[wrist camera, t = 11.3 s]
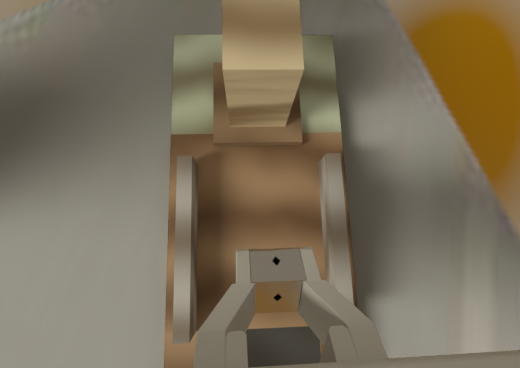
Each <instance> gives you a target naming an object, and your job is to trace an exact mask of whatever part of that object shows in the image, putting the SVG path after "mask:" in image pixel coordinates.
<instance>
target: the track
mask: <svg viewBox="0 0 520 368" xmlns="http://www.w3.org/2000/svg"><path fill="white" fill-rule="evenodd" d="M302 46H303V61H304V71H303V74H302V77H301V80H300V83H299V94H300V110H301V126H302V144H301V145H256V146H214V143H213V63H222V35H174V53H173V86H172V119H171V152H170V185H169V219H168V252H167V285H166V318H165V351H164V368H193V364H194V356H195V347H196V338H197V332H198V330H199V329H200V328H201V326H202V325H203V323H204V322H205V321H206V319H207V318H208V317H209V315H210V314H211V312H212V311H213V310H214V308H215V307H216V306H217V304H218V303H219V301H220V300H221V299H222V297H223V296H224V295H225V293H226V292H227V290H228V289H229V288H230V286H231V285H232V284H236V249H273V248H292V247H311V248H312V249H313V252H314V256H315V259H316V262H317V266H318V269H319V272H320V276H321V279H322V280H326V281H327V282H328V283H330V284H331V285H332V286H333V287H334V288H335V289H336V290H337V291H338V292H340V293H341V294H342V295H343V296H344V297H345V298H346V299H347V300H348V301H350V302H351V303H352V304H353V305H354V306H355V307H356V308H357V299H356V288H355V277H354V266H353V255H352V244H351V233H350V222H349V211H348V200H347V189H346V178H345V167H344V156H343V145H342V134H341V123H340V112H339V101H338V90H337V79H336V68H335V57H334V46H333V35H302ZM245 334H247V356H248V368H250V367H266V366H281V365H296V364H311V363H319V362H320V359H321V355H322V352H323V348H324V345H323V344H322V342H321V341H320V340H319V339H318V337H317V336H316V335H315V333H314V332H313V331H312V330H311V328H310V327H309V326H308V325H307V323H306V322H305V321H304V319H303V318H302V317H301V316H300V314H299V313H298V312H270V313H258V314H255V315H254V317H253V319H252V321H251V323H250V325H249V327H248V329H247V331H246V333H245Z"/></svg>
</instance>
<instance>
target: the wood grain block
mask: <svg viewBox="0 0 520 368" xmlns="http://www.w3.org/2000/svg"><path fill="white" fill-rule="evenodd" d="M303 71H304V61H303V46H302V31H301V16H300V1H299V0H222V63H213V143H214V146H256V145H301V144H302V126H301V110H300V94H299V83H300V80H301V77H302V74H303Z"/></svg>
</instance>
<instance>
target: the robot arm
mask: <svg viewBox="0 0 520 368" xmlns="http://www.w3.org/2000/svg"><path fill="white" fill-rule="evenodd" d="M270 312H298V313H299V314H300V316H301V317H302V318H303V319H304V321H305V322H306V323H307V325H308V326H309V327H310V328H311V330H312V331H313V332H314V333H315V335H316V336H317V337H318V339H319V340H320V341H321V342H322V344H323V345H324V348H323V352H322V355H321V359H320V362H319V363H311V364H296V365H281V366H266V367H250V368H520V350H514V351H499V352H483V353H467V354H452V355H436V356H421V357H405V358H390V359H388V357H387V354H386V352H385V350H384V347H383V345H382V342H381V340H380V337H379V335H378V333H377V330H376V328H375V325H374V323H373V322H372V321H371V320H370V319H369V318H367V317H366V316H365V315H364V314H363V313H362V312H361V311H360V310H359V309H357V308H356V307H355V306H354V305H353V304H352V303H351V302H350V301H348V300H347V299H346V298H345V297H344V296H343V295H342V294H341V293H340V292H338V291H337V290H336V289H335V288H334V287H333V286H332V285H331V284H330V283H328V282H327V281H326V280H322V279H321V276H320V272H319V269H318V266H317V262H316V259H315V256H314V252H313V249H312V248H311V247H292V248H273V249H236V284H232V285H231V286H230V288H229V289H228V290H227V292H226V293H225V295H224V296H223V297H222V299H221V300H220V301H219V303H218V304H217V306H216V307H215V308H214V310H213V311H212V312H211V314H210V315H209V317H208V318H207V319H206V321H205V322H204V323H203V325H202V326H201V328H200V329H199V330H198V332H197V338H196V347H195V356H194V364H193V368H248V356H247V334H245V333H246V331H247V329H248V327H249V325H250V323H251V321H252V319H253V317H254V315H255V314H258V313H270Z"/></svg>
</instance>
